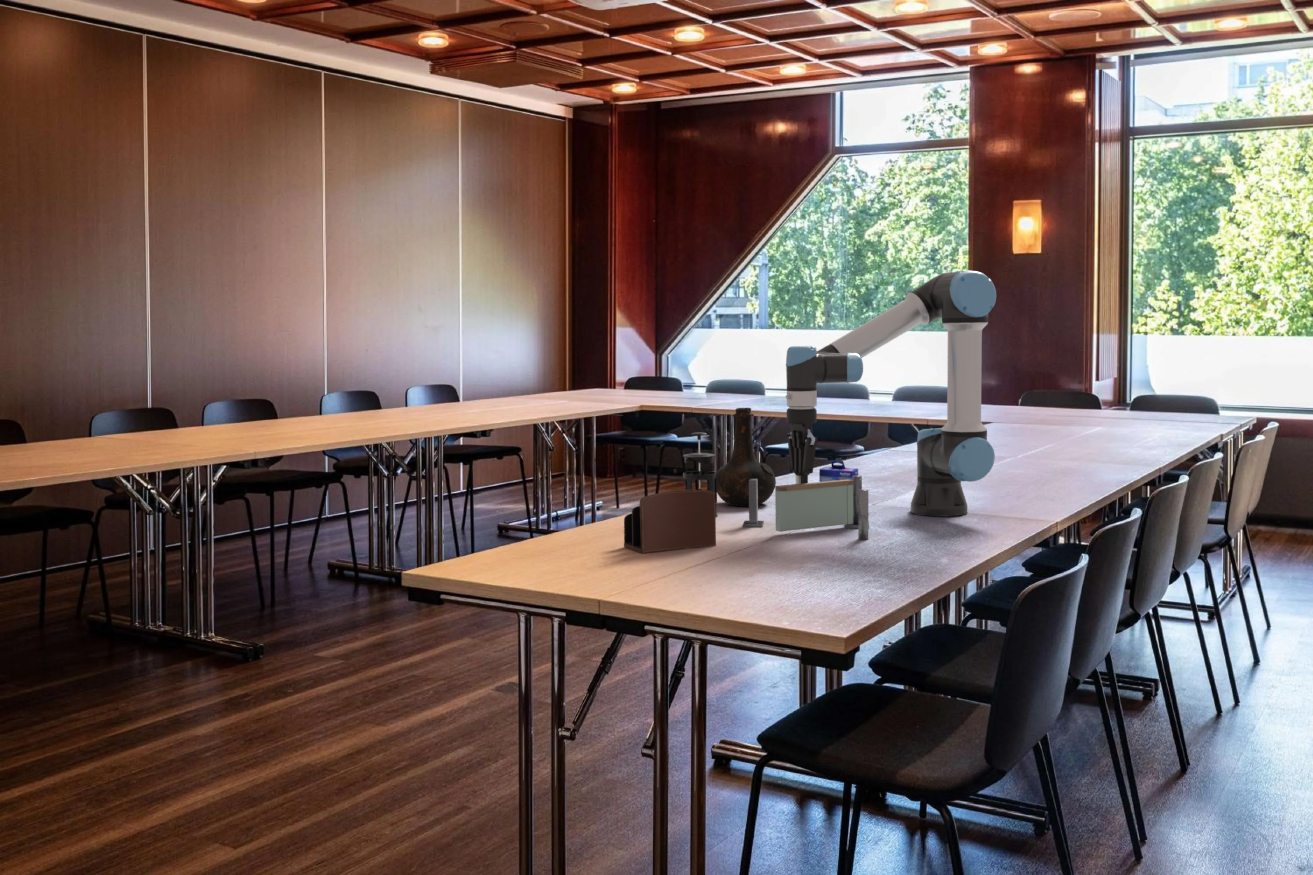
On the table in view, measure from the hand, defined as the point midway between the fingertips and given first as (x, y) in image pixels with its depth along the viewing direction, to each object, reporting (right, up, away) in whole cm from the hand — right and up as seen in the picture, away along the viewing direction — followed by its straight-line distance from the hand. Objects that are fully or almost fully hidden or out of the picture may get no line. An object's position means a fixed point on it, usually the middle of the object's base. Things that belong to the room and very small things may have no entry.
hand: (801, 500), depth 313 cm
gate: (+3, -7, -2) cm, 8 cm away
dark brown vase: (-11, -4, +45) cm, 46 cm away
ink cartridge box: (+13, -5, +28) cm, 31 cm away
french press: (-24, -6, +25) cm, 35 cm away
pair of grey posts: (+1, -8, -2) cm, 8 cm away
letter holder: (-34, -10, -19) cm, 40 cm away
